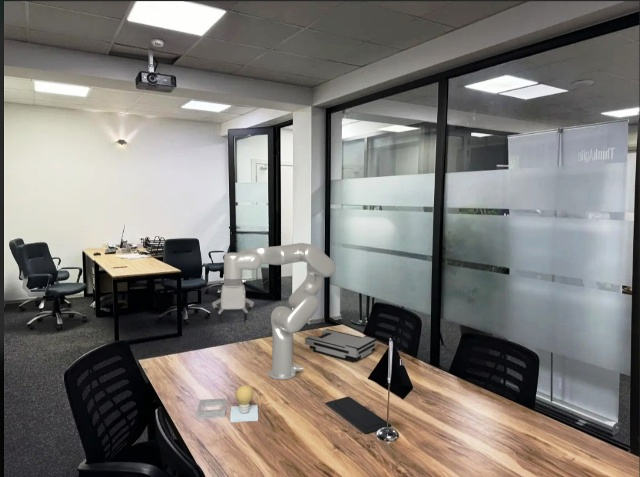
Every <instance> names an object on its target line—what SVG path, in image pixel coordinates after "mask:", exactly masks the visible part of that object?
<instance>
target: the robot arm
mask: <svg viewBox="0 0 640 477" xmlns="http://www.w3.org/2000/svg"><path fill="white" fill-rule="evenodd" d="M301 262H303V263H306V277H305V279H304V280H303V282H302V283H301V284H300V285H299V286H298V287H297V288H296V289H295V290H294V292H292V293H291V295H290V296H289V298H288V304H289V305H288V306H290V307H291V308H289V307H287V306H283V305H282V306H281V305H280V306H277V307H275V308H274V309H273V310H272V312H271V313H270V314H271V316H270V323H271V330H272V332H271V333H272V344H271V345H272V347H271V348H272V350H271V351H272V352H271V353H272V354H271V356H272V357H271V358H272V359H271V361H272V363H271V369H270V370H269V371H268V375H269V377H270V378H272V379H274V380H281V381H284V380H290V379H293V378H294V377H296V375H297V372H298V371H299V372H302V371H304V366H303V365H302V366H301V365H300V364H297V365H296V364H294V334H295V333H297V332H299V331H300V330H302V328H304V326H305V325H306V324H307V323H308V322H309V321H310V320H311V318H312V317H314V315H315V314H316V312H317V310H318V308H319V299H318V297H317V294H318V293H319V291H320V290H321V288H322V283H323V278H329V277H332V276H333V275H334V273H335V271H336V265H335V262H334V260H333V259H332V258H330V257H329V256H328V255H327V254H326V253H324V252H323V251H322V250H321V249H320V248H318V247H317V246H316V245H314V244H310V243H305V242H298V243H291V244H286V245H285V244H284V245H277V246H267V247H256V248H255V247H254V248H246V249H242V250H240V251H239V252H227V253H225V254H224V256H223V284H222V286H221V292H220V298H219V299H216V300H215V301H213V302H212V303H211V305H212V307H213V309H214V311H216V313H217V314H218V321H219V323H220V324H222V323H223V317H224V315H223V314H224V313H223V311H224V310H242V311H243V323H246V321H248V313H249V312H250V311H251V310H252V308H253V307H254V304H255V302H254V301H253V300H250V299H249V298H247V297H246V288H245V285H244V283H246V281H247V280H246V279H244V278H243V270H246V271H247V270H248V271H254V270H257V269H259V268H260V267H261V266H262V265H274V266H282V265H287V264H288V265H289V264H294V263H301ZM246 303H247V304H249V305H248V307H246ZM218 304H220V308H219V307H218V306H217V305H218Z"/></svg>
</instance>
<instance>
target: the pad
mask: <svg viewBox="0 0 640 477" xmlns="http://www.w3.org/2000/svg"><path fill="white" fill-rule="evenodd" d="M249 406H250V408H249V409H250V410H249V412H248V413H241V412H240V411H239V407H240V406H239V405H235V406H234V405H233V406H230V418H229V423H242V422H257V421H259V409H258V404H250V405H249Z"/></svg>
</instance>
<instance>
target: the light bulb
mask: <svg viewBox="0 0 640 477" xmlns="http://www.w3.org/2000/svg"><path fill="white" fill-rule="evenodd" d="M253 397H254V390H253V388H252V387H251V386H249V385H247V384H244V385H241V386H238V388H237V390H236V391H235V398H236V400H237V401H238V403H239V405H238V406H240V407H239V411H240V412H241V413H248V412H249V410H250V409H249V408H250V406H249V405H251V404H250V402H251V401H252V399H253Z"/></svg>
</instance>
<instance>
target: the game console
mask: <svg viewBox="0 0 640 477" xmlns="http://www.w3.org/2000/svg"><path fill="white" fill-rule="evenodd" d="M377 340H378V338H377V337H373V336H368V335H364V336H359V335H354V334H350V333H347V332H341V331H337V330H333V329H328V328H326V329H324V330H322V331H321V335H319V336H314V335H309V336H307V337H305V338H304V344H305V345H306V346H309V348H310V349H311V350H313V351H312V352H313V353H316V354H320V355H324V356H327V357H331V358H333V359H334V358H335V359H337V360H338V359H339V360H342V361H345V362H349V363H353V364H354V363H355V362H358V361H359V360H361V359H363V358H364V357H367V356H368V355H370V354H372V353H373V352H375V351H376V347H377V345H378V344H377V342H378V341H377Z"/></svg>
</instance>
